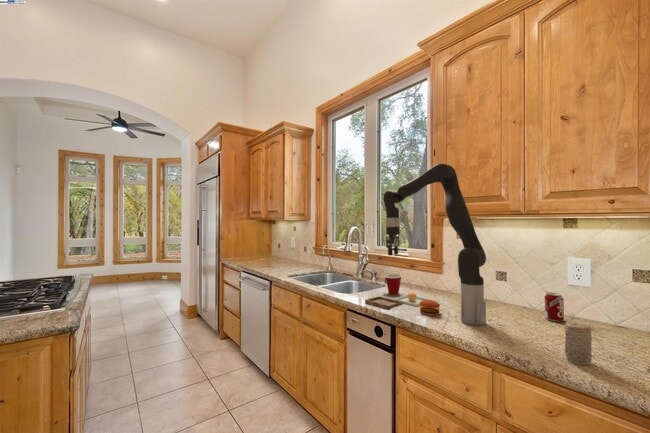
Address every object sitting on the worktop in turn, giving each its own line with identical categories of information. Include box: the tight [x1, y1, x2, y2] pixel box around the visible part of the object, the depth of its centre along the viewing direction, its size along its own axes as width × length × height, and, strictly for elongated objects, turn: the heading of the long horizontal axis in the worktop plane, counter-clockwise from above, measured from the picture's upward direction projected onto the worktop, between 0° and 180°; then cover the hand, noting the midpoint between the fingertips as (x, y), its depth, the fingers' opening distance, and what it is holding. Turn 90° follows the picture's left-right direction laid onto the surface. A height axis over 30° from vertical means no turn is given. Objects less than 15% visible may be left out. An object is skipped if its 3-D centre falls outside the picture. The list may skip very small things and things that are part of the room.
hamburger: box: [419, 299, 441, 317], centre depth 142 cm, size 9×10×7 cm
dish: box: [392, 294, 433, 308], centre depth 162 cm, size 15×15×2 cm
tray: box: [364, 295, 403, 310], centre depth 159 cm, size 16×12×2 cm
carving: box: [564, 321, 593, 366], centre depth 92 cm, size 6×8×12 cm
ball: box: [407, 291, 417, 301], centre depth 162 cm, size 5×5×5 cm
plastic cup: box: [383, 273, 403, 296], centre depth 181 cm, size 11×11×12 cm
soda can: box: [544, 291, 565, 323], centre depth 132 cm, size 7×7×12 cm
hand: (393, 254), depth 164 cm, fingers open, 8 cm apart
